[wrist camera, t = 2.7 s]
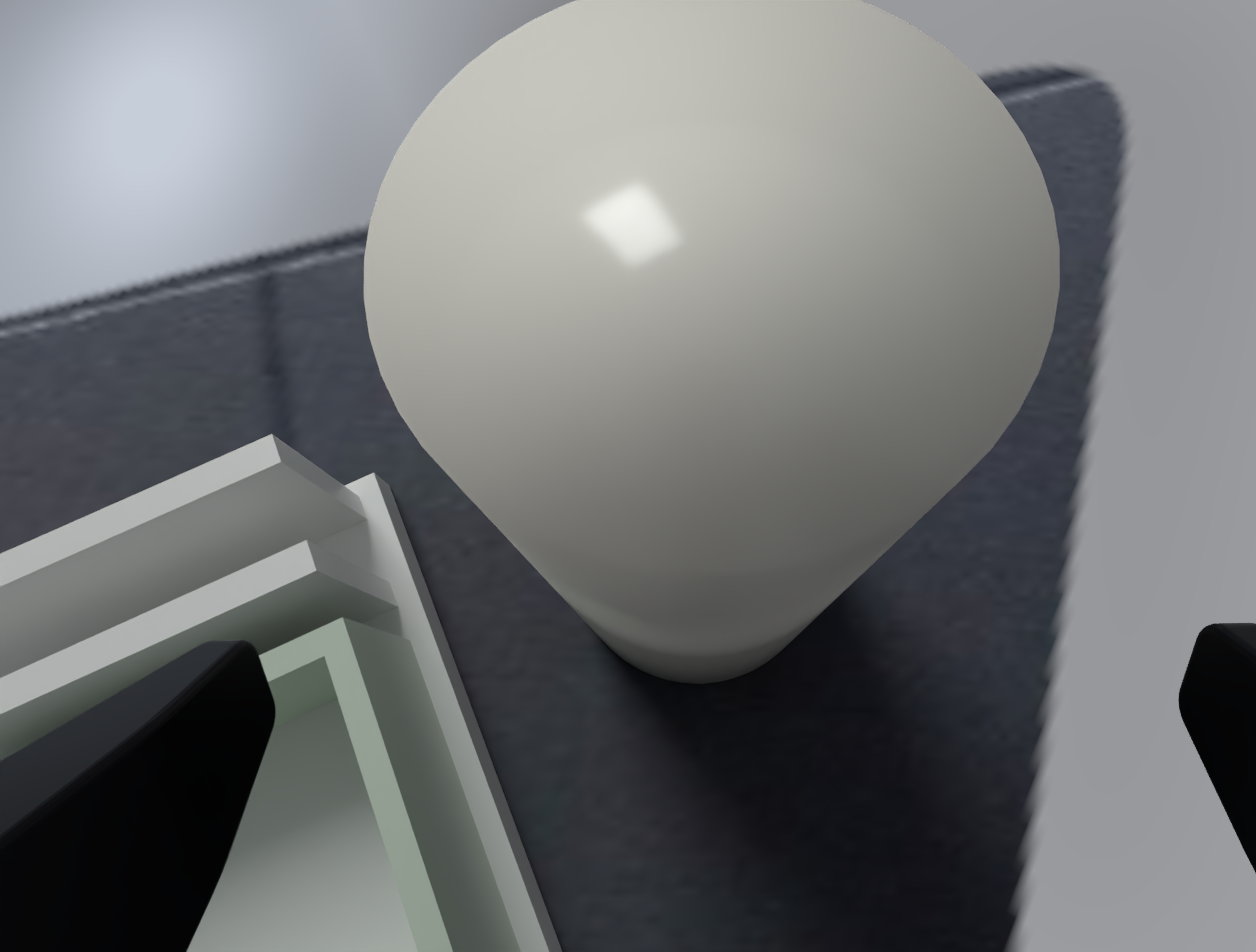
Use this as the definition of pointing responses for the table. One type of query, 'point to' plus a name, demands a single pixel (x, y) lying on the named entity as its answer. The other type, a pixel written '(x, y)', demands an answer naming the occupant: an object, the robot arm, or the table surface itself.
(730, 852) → the table surface
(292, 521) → the pale green holder box
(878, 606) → the table surface
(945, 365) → the off-white round-top cylinder
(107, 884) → the robot arm
